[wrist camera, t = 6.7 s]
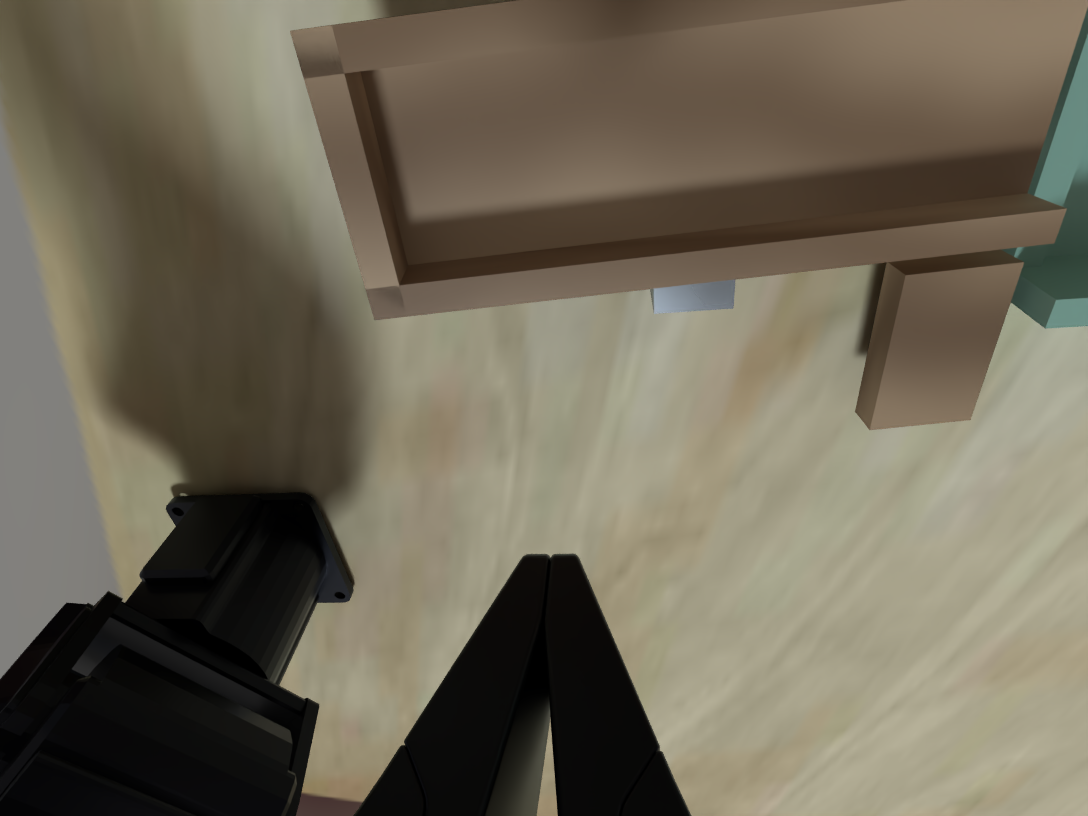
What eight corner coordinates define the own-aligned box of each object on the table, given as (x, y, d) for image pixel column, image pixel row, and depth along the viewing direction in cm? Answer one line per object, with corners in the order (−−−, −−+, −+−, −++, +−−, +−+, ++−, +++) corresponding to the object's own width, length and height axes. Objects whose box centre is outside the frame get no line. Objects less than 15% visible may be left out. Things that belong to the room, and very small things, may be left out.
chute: (951, 402, 19) (997, 446, 17) (437, 454, 20) (428, 502, 18) (1102, -79, 13) (1204, -92, 11) (324, 26, 13) (289, 30, 11)
